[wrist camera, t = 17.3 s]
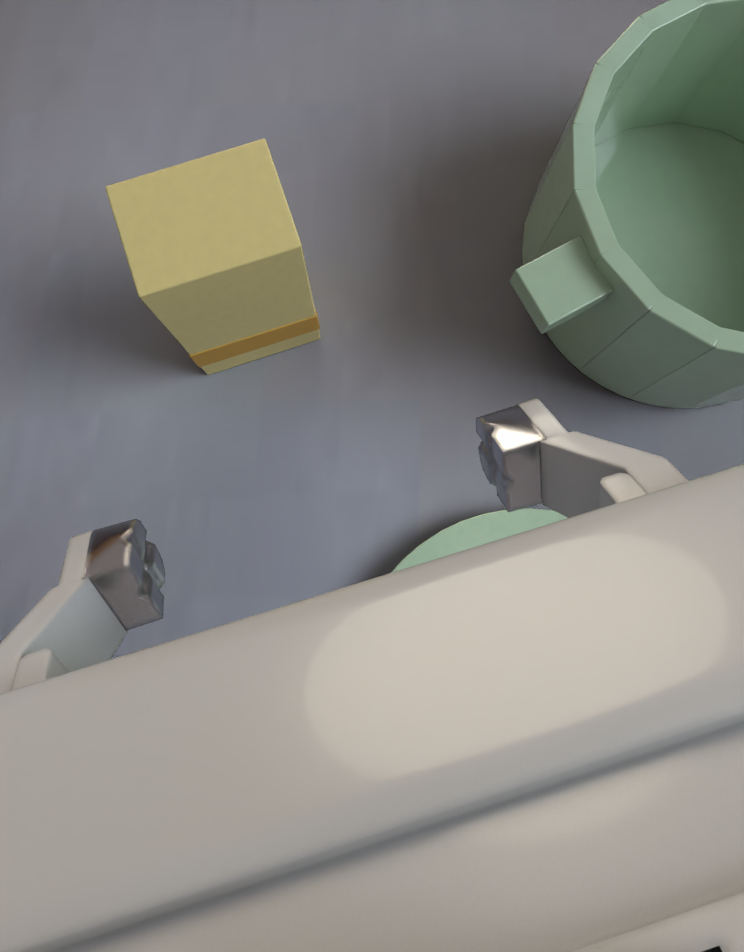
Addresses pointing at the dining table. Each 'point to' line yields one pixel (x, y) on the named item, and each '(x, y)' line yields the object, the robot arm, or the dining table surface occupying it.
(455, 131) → the dining table surface
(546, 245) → the pot
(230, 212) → the butter
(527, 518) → the pot lid
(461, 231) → the dining table surface
